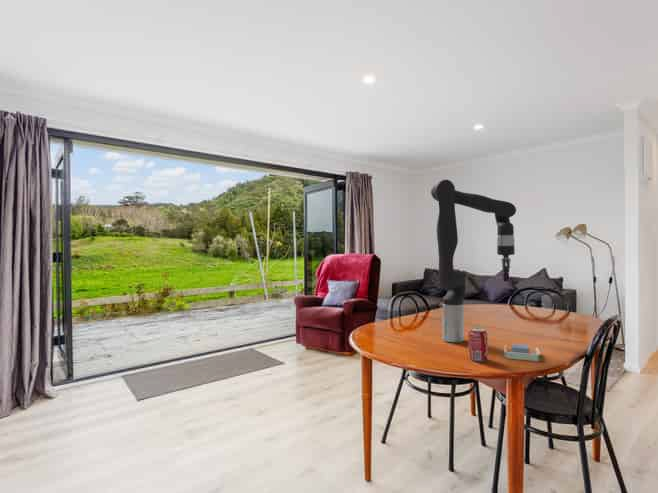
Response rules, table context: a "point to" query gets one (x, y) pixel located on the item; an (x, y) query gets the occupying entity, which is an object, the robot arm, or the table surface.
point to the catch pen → (522, 355)
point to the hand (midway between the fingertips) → (506, 281)
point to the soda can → (478, 344)
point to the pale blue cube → (520, 348)
